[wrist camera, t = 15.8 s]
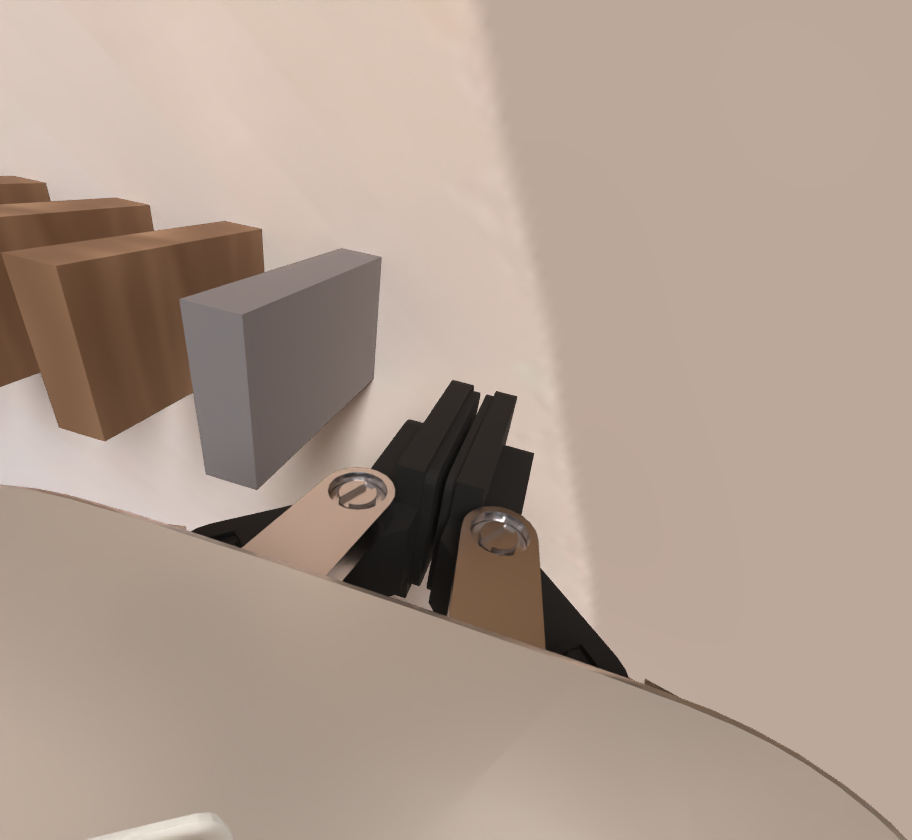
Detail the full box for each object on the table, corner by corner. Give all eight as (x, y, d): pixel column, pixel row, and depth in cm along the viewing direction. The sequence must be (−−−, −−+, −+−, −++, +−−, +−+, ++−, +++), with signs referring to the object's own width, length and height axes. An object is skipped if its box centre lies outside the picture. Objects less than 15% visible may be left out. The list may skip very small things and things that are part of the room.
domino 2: (261, 229, 18) (55, 265, 11) (268, 350, 20) (104, 441, 14) (224, 221, 18) (0, 252, 11) (236, 341, 21) (59, 427, 14)
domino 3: (381, 257, 17) (241, 314, 10) (373, 378, 20) (257, 490, 13) (341, 248, 17) (179, 299, 11) (338, 369, 20) (205, 474, 13)
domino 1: (149, 204, 19) (-109, 225, 12) (169, 324, 21) (-34, 399, 14) (115, 197, 19) (-157, 213, 12) (139, 317, 21) (-75, 386, 14)
